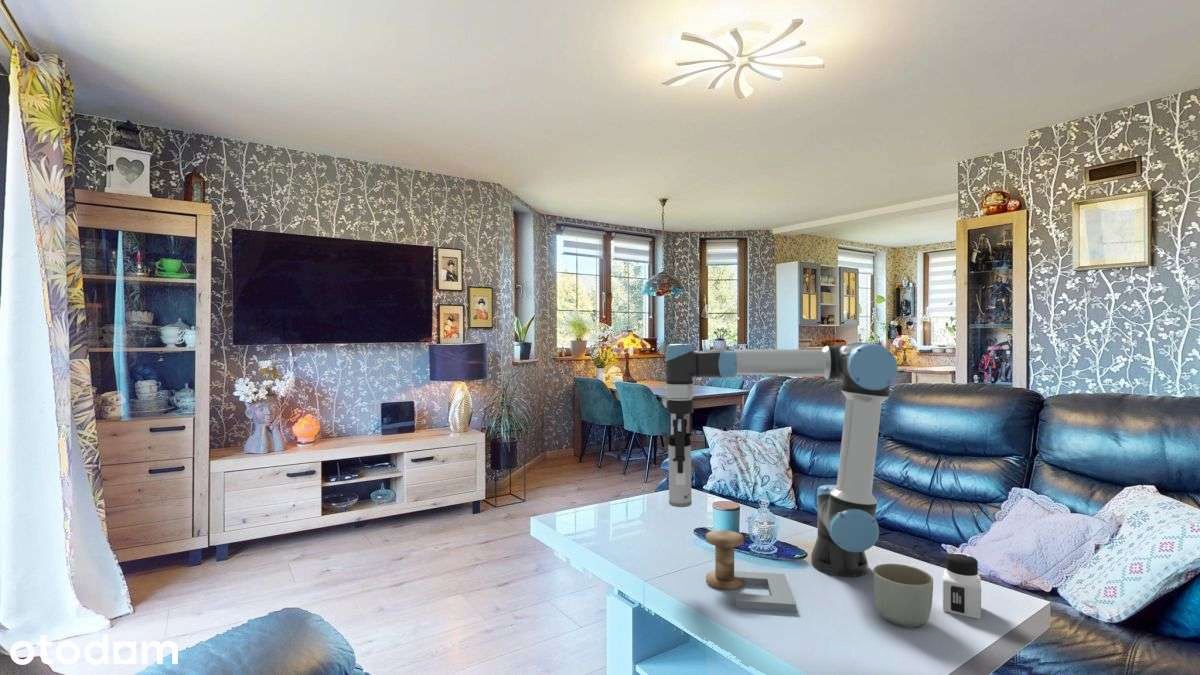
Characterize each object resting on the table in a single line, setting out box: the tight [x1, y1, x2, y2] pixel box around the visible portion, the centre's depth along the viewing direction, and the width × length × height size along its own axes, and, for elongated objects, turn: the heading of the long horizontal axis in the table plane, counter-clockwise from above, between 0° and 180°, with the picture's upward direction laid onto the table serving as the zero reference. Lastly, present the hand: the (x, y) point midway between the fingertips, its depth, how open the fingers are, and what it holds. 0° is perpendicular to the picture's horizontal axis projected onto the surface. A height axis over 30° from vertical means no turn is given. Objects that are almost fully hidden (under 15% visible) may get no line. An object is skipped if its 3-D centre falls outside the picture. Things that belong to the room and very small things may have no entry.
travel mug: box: [667, 432, 693, 508], centre depth 163 cm, size 6×7×20 cm
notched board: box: [734, 570, 797, 614], centre depth 150 cm, size 14×18×2 cm
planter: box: [872, 563, 934, 628], centre depth 136 cm, size 12×12×11 cm
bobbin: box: [705, 529, 745, 591], centre depth 158 cm, size 10×10×12 cm
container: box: [942, 552, 982, 620], centre depth 142 cm, size 8×8×13 cm
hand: (680, 481), depth 163 cm, fingers closed on travel mug, 6 cm apart
